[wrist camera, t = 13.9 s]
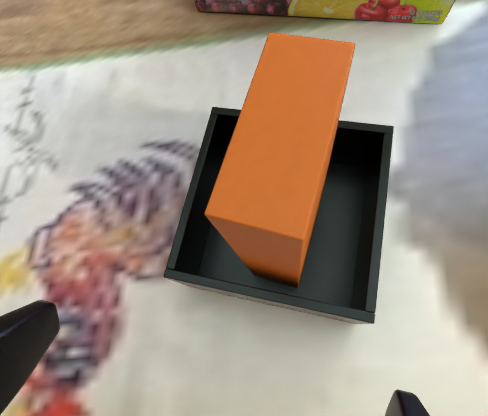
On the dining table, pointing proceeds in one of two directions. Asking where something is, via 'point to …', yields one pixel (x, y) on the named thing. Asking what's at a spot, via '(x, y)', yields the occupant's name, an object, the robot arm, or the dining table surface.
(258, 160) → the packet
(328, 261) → the black square tray
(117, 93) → the dining table surface
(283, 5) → the snack box
